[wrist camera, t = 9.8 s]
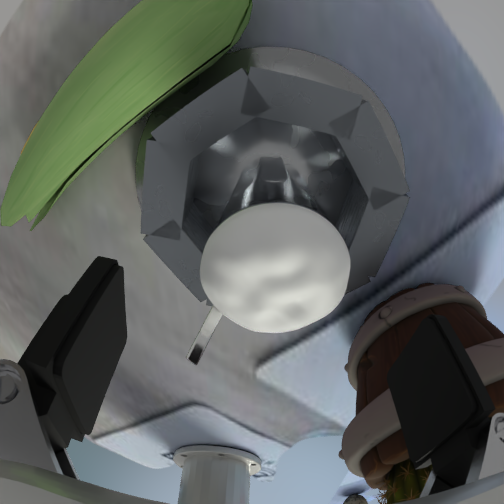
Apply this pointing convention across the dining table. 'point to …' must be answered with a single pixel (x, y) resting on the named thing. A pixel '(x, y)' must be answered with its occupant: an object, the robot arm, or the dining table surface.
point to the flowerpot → (377, 390)
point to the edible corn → (118, 92)
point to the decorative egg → (355, 500)
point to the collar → (270, 154)
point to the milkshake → (271, 256)
